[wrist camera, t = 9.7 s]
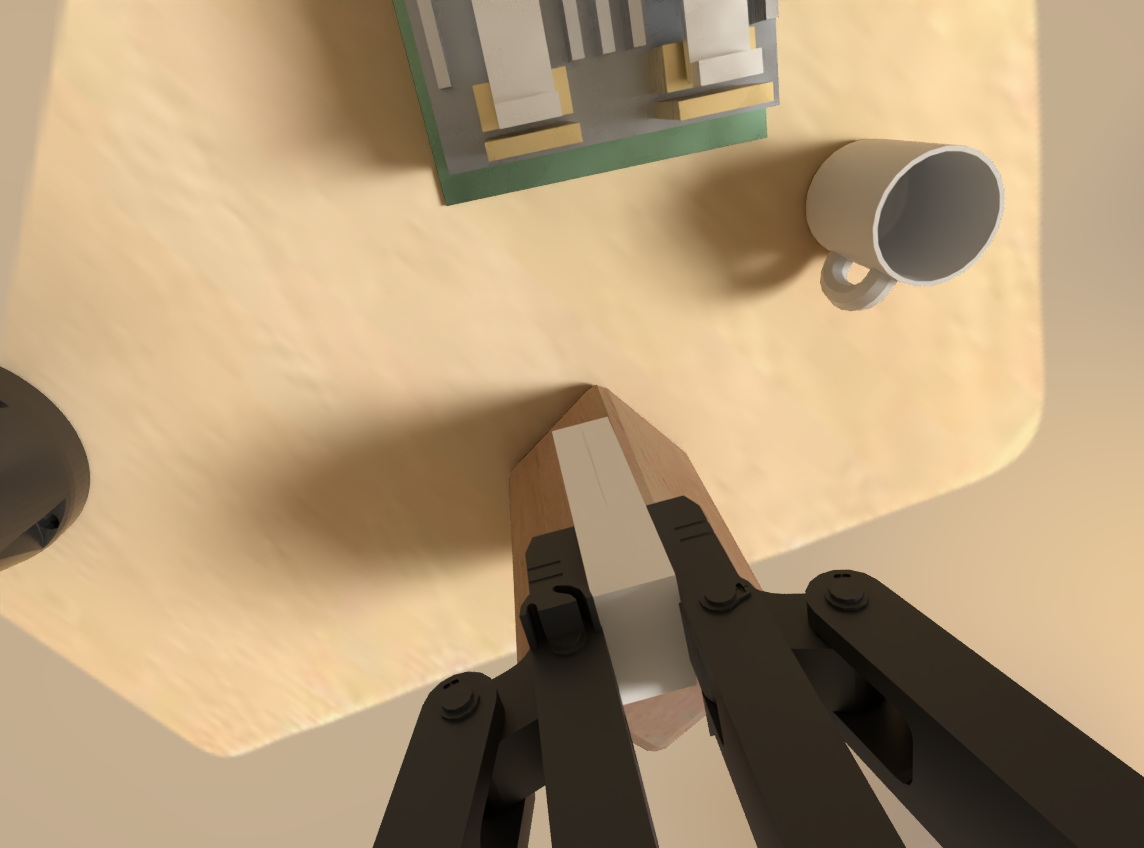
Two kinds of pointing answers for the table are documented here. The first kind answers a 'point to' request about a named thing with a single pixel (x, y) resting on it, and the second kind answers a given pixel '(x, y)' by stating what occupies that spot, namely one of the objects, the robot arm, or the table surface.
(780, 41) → the table surface
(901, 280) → the cup
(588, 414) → the wooden block
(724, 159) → the table surface
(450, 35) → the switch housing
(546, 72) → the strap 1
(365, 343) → the table surface
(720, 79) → the silver long flat bar
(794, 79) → the table surface
